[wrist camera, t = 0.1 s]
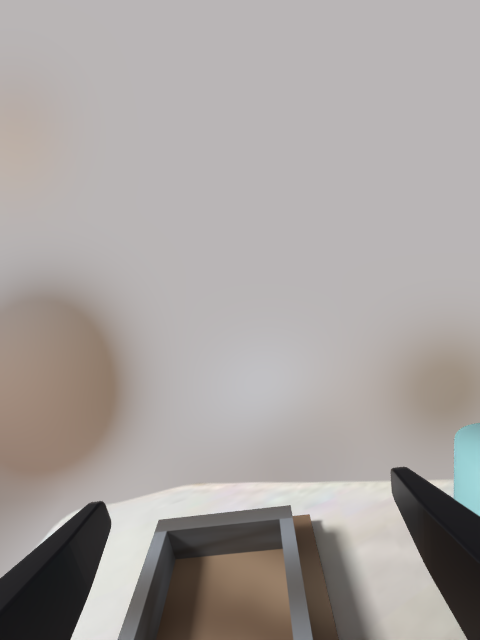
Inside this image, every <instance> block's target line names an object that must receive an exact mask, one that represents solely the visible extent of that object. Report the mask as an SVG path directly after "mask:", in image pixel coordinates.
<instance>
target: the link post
mask: <svg viewBox="0 0 480 640" xmlns="http://www.w3.org/2000/svg"><path fill="white" fill-rule="evenodd" d="M454 499H455V500H456V501H458V502H459V503H461V504H462V505H464V506H465V507H467V508H468V509H470V510H471V511H473V512H474V513H476V514H477V515H479V516H480V423H476V424H471V425H468V426H465V427H463V428H461V429H460V430H459V431H458V432H457V433H456V435H455V439H454Z"/></svg>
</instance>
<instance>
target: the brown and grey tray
mask: <svg viewBox="0 0 480 640" xmlns="http://www.w3.org/2000/svg"><path fill="white" fill-rule="evenodd" d="M118 640H339V639H338V635H337V630H336V626H335V622H334V617H333V613H332V609H331V605H330V600H329V596H328V592H327V588H326V583H325V579H324V575H323V570H322V566H321V562H320V558H319V553H318V549H317V545H316V541H315V536H314V532H313V528H312V523H311V519H310V515H300V516H292V511H291V506H290V505H289V506H280V507H271V508H262V509H253V510H244V511H235V512H226V513H217V514H208V515H199V516H190V517H181V518H172V519H163V520H159V521H158V524H157V527H156V530H155V533H154V536H153V539H152V541H151V544H150V547H149V550H148V553H147V556H146V559H145V562H144V565H143V568H142V570H141V573H140V576H139V579H138V582H137V585H136V588H135V591H134V594H133V596H132V599H131V602H130V605H129V608H128V611H127V614H126V617H125V620H124V623H123V625H122V628H121V631H120V634H119V637H118Z"/></svg>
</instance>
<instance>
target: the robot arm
mask: <svg viewBox="0 0 480 640" xmlns="http://www.w3.org/2000/svg"><path fill="white" fill-rule="evenodd" d="M391 487H392V494H393V497H394V500H395V502H396V504H397V506H398V509H399V511H400V513H401V515H402V517H403V519H404V521H405V523H406V526H407V528H408V530H409V532H410V534H411V536H412V538H413V541H414V543H415V545H416V547H417V549H418V551H419V553H420V555H421V557H422V559H423V562H424V564H425V565H426V567H427V569H428V571H429V573H430V575H431V576H432V578H433V580H434V582H435V583H436V585H437V587H438V589H439V590H440V592H441V594H442V596H443V597H444V599H445V601H446V603H447V604H448V606H449V608H450V610H451V611H452V613H453V615H454V617H455V618H456V620H457V622H458V624H459V625H460V627H461V629H462V631H463V632H464V634H465V636H466V638H467V639H468V640H480V516H479V515H477V514H476V513H474V512H473V511H471V510H470V509H468V508H467V507H465V506H464V505H462V504H461V503H459V502H458V501H456V500H455V499H453V498H452V497H450V496H449V495H447V494H446V493H444V492H443V491H441V490H440V489H439V488H437V487H436V486H434V485H433V484H431V483H430V482H428V481H427V480H425V479H424V478H422V477H421V476H419V475H417V474H416V473H415V472H413V471H412V470H410V469H409V468H407V467H397V468H392V469H391ZM110 529H111V519H110V516H109V513H108V511H107V508H106V505H105V503H104V502H102V501H99V502H91V503H89V504H88V505H86V506H85V507H84V508H83V509H82V510H80V511H79V512H78V513H77V514H76V515H75V516H73V517H72V518H71V519H70V520H69V521H68V522H66V523H65V524H64V525H63V526H62V527H60V528H59V529H58V530H57V531H56V532H55V533H53V534H52V535H51V536H50V537H49V538H47V539H46V540H45V541H44V542H43V543H42V544H40V545H39V546H38V547H37V548H36V549H34V550H33V551H32V552H31V553H30V554H29V555H27V556H26V557H25V558H24V559H23V560H22V561H20V562H19V563H18V564H17V565H16V566H14V567H13V568H12V569H11V570H10V571H9V572H7V573H6V574H5V575H4V576H3V577H1V578H0V640H70V639H71V637H72V634H73V632H74V629H75V627H76V624H77V622H78V620H79V617H80V615H81V612H82V610H83V607H84V605H85V602H86V600H87V597H88V595H89V592H90V589H91V587H92V584H93V581H94V578H95V575H96V572H97V569H98V566H99V563H100V560H101V557H102V554H103V551H104V548H105V545H106V542H107V539H108V536H109V533H110Z"/></svg>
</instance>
